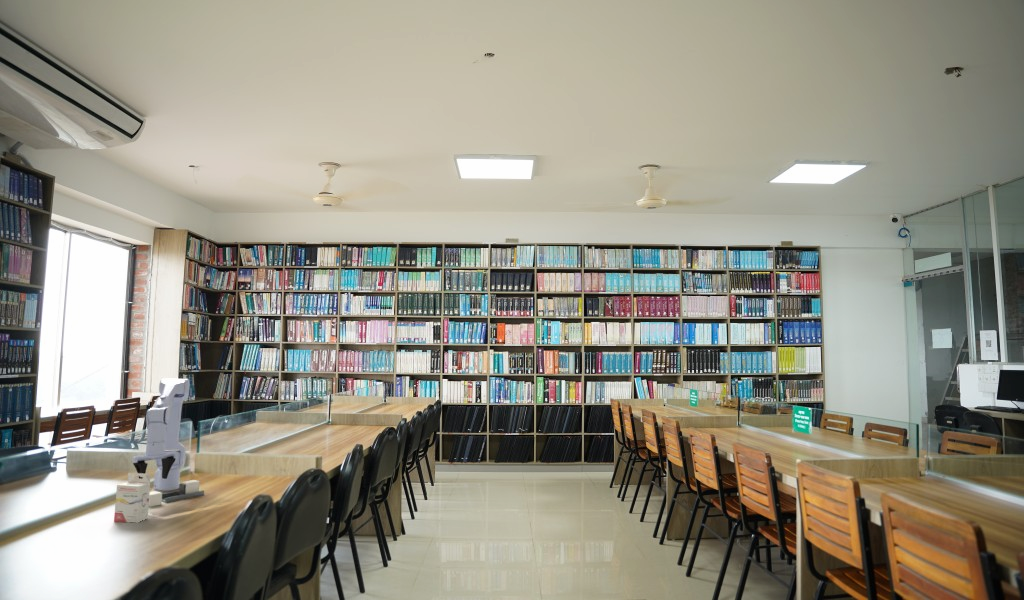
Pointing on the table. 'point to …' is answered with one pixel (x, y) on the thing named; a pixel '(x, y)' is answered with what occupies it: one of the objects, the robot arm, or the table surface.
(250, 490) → the table surface
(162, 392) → the robot arm
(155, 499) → the white cardboard box
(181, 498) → the sliding window
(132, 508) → the ink cartridge box
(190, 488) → the white and grey block
